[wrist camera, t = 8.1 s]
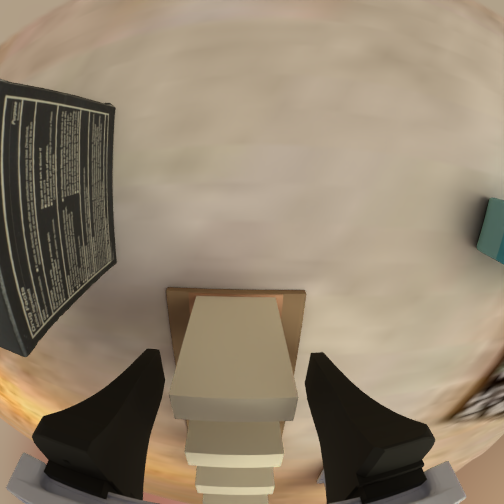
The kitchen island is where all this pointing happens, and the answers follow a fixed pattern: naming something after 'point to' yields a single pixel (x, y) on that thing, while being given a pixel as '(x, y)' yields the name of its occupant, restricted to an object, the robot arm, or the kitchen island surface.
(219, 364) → the domino
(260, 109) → the kitchen island surface
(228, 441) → the domino
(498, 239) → the data package
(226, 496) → the domino
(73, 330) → the kitchen island surface
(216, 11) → the kitchen island surface
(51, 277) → the small box
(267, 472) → the domino
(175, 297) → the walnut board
